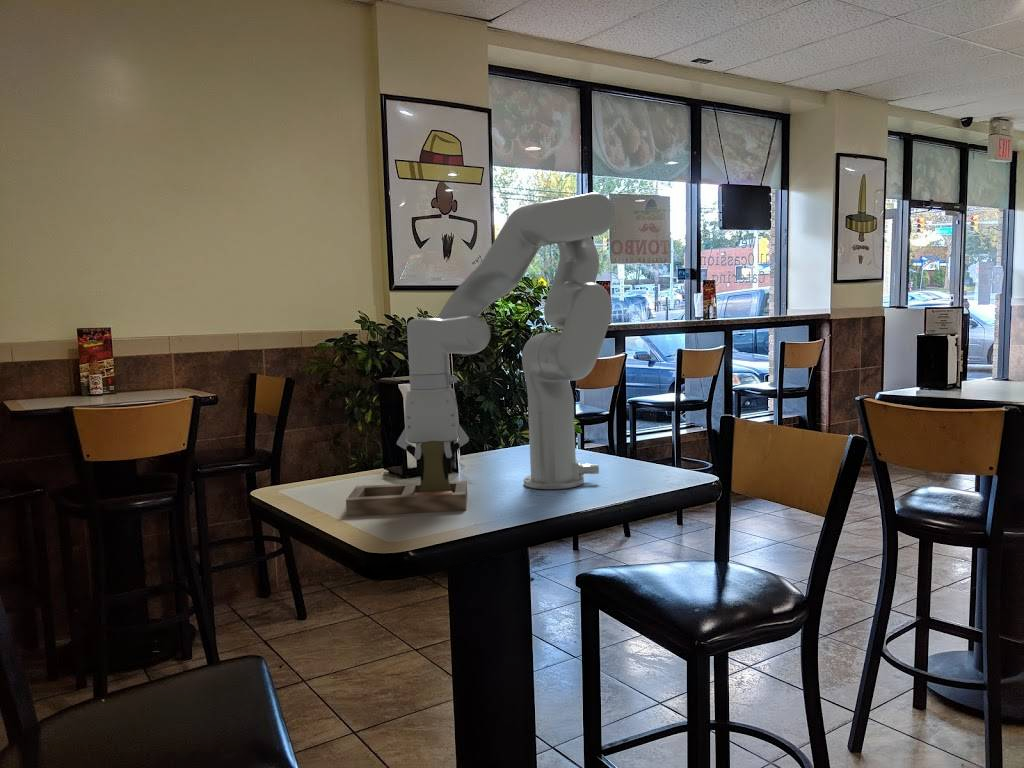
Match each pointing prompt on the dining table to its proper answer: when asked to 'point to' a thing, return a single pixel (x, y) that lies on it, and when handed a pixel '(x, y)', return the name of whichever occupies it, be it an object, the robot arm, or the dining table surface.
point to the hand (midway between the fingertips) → (434, 477)
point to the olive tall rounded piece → (433, 468)
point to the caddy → (405, 499)
